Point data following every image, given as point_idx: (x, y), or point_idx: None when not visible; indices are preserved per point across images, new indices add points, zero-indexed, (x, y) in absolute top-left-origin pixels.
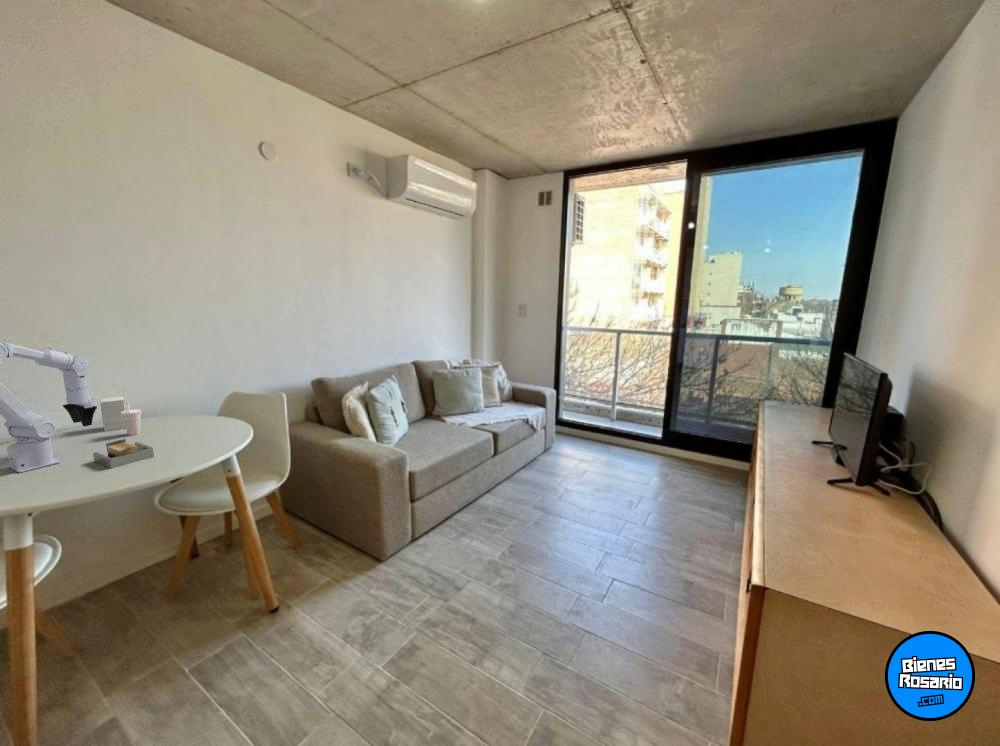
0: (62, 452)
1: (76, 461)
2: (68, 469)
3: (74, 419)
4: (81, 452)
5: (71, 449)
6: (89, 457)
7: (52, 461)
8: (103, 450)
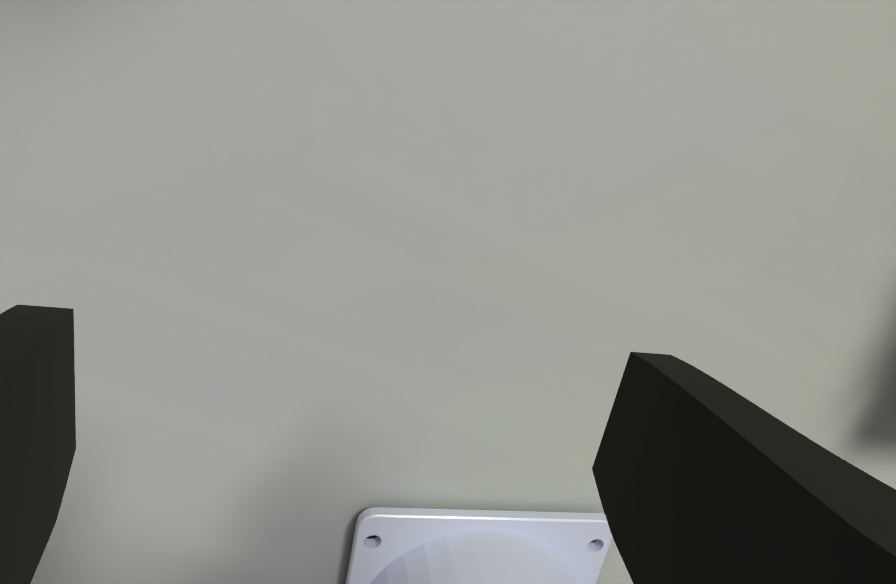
0: (244, 374)
1: None
2: None
3: (47, 510)
4: (468, 281)
5: (206, 276)
6: (733, 326)
7: (564, 559)
8: (661, 127)
